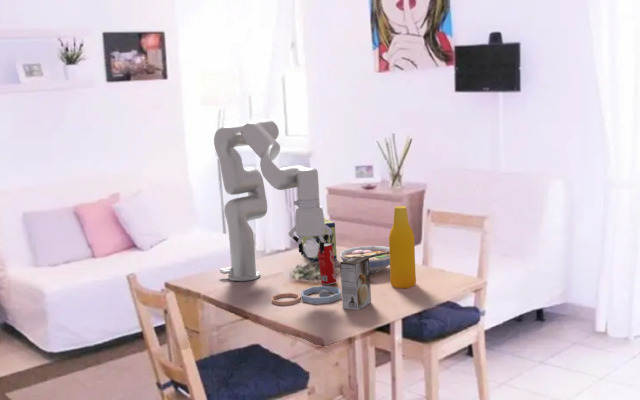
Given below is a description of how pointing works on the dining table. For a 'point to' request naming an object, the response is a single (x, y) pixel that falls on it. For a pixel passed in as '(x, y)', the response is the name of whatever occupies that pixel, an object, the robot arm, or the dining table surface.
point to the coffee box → (355, 282)
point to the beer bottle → (402, 251)
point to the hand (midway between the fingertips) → (311, 253)
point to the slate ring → (321, 299)
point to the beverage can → (327, 265)
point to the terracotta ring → (285, 296)
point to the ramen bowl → (370, 256)
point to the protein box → (330, 239)
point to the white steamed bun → (311, 247)
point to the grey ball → (324, 293)
